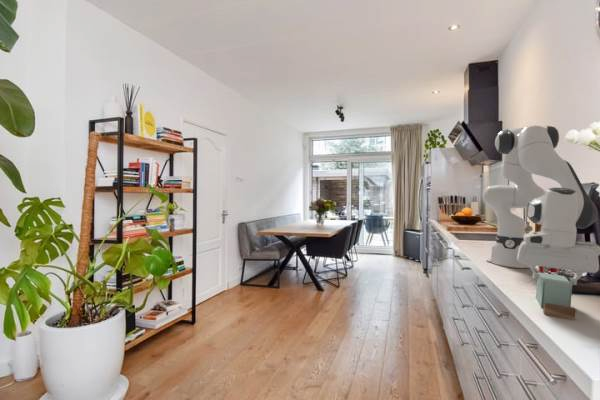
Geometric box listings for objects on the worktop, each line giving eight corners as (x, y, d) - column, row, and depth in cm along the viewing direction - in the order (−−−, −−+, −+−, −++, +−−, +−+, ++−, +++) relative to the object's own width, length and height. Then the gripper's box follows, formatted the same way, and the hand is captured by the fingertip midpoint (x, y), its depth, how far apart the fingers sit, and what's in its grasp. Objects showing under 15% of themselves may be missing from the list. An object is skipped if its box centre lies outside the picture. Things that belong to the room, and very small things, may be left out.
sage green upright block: (535, 297, 108) (537, 272, 108) (561, 301, 105) (563, 275, 104) (541, 307, 99) (543, 280, 98) (570, 313, 95) (572, 284, 95)
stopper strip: (543, 312, 95) (543, 302, 95) (573, 317, 92) (573, 307, 92) (544, 314, 94) (545, 304, 94) (574, 320, 90) (575, 309, 90)
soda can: (563, 285, 124) (565, 255, 123) (541, 282, 127) (543, 252, 126) (557, 280, 130) (560, 251, 130) (536, 278, 133) (538, 249, 133)
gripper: (597, 241, 98) (593, 284, 99) (518, 234, 108) (515, 273, 109) (604, 244, 93) (600, 290, 94) (520, 236, 103) (517, 278, 104)
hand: (553, 281), depth 101 cm, fingers open, 8 cm apart
